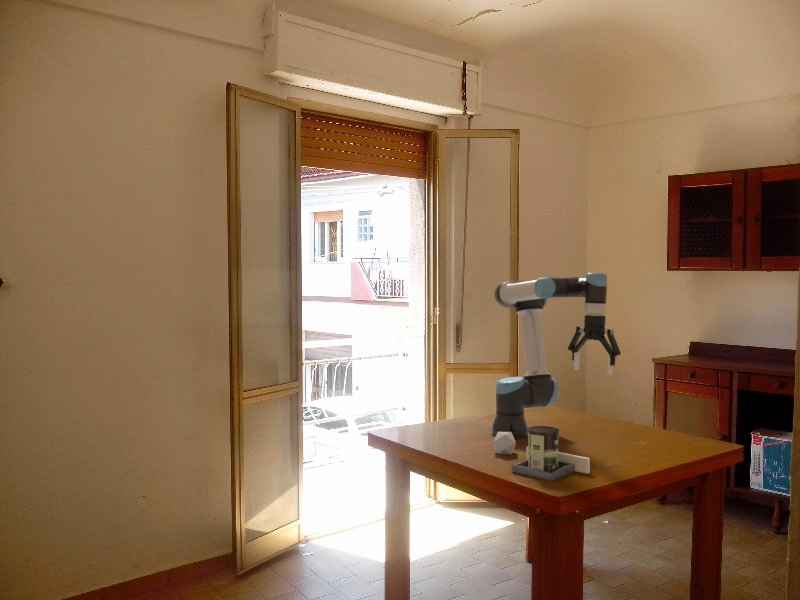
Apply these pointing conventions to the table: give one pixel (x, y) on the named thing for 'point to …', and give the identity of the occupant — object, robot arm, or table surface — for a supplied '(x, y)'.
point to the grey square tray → (561, 471)
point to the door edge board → (573, 461)
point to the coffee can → (543, 448)
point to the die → (504, 442)
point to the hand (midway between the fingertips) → (592, 372)
